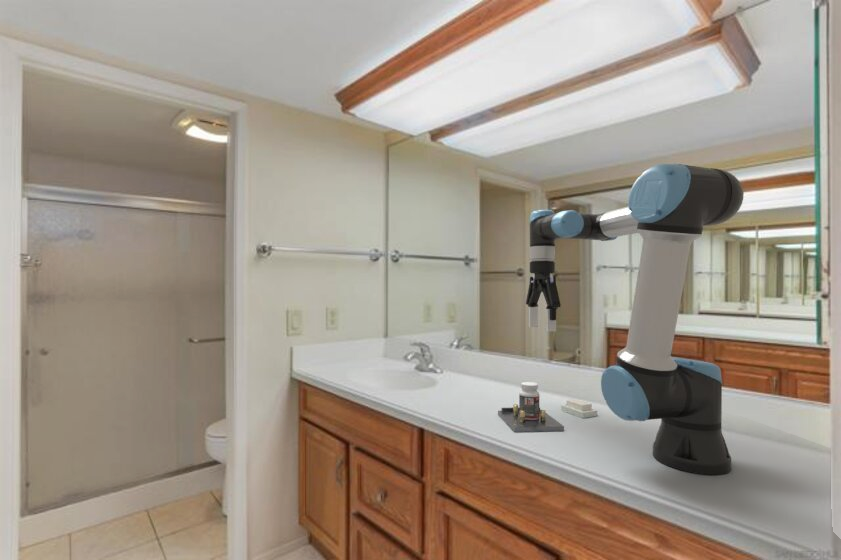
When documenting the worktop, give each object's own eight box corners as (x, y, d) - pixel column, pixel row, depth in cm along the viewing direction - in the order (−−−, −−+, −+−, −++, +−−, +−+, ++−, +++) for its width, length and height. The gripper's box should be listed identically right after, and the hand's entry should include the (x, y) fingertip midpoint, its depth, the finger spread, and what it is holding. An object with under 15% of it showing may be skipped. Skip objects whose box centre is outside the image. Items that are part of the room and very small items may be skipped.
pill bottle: (540, 421, 122) (540, 386, 122) (519, 420, 123) (519, 385, 123) (538, 415, 127) (538, 382, 127) (518, 414, 128) (519, 381, 128)
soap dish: (597, 415, 132) (597, 404, 132) (582, 418, 129) (583, 406, 129) (575, 408, 140) (575, 397, 140) (561, 410, 137) (561, 399, 137)
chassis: (564, 430, 118) (564, 415, 118) (514, 432, 116) (514, 416, 116) (541, 413, 133) (541, 400, 134) (497, 414, 132) (497, 400, 132)
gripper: (573, 258, 122) (572, 333, 121) (537, 263, 147) (537, 325, 146) (547, 257, 121) (547, 333, 120) (516, 262, 146) (515, 325, 145)
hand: (541, 329), depth 133 cm, fingers open, 13 cm apart
